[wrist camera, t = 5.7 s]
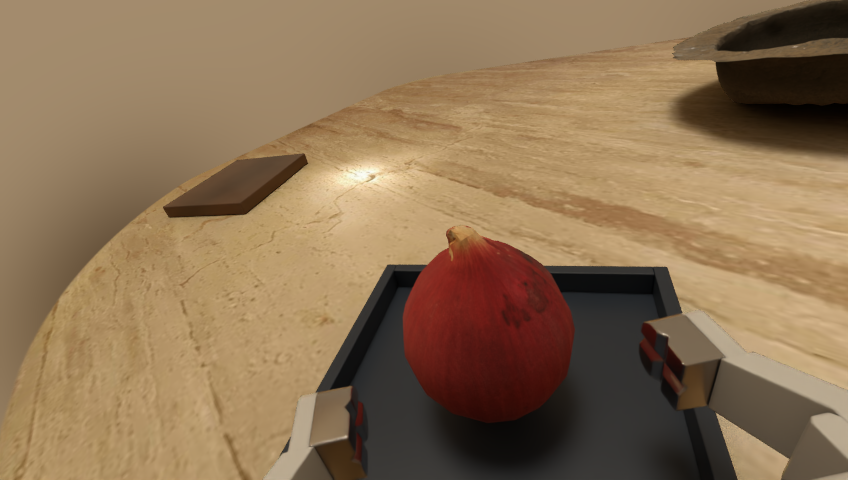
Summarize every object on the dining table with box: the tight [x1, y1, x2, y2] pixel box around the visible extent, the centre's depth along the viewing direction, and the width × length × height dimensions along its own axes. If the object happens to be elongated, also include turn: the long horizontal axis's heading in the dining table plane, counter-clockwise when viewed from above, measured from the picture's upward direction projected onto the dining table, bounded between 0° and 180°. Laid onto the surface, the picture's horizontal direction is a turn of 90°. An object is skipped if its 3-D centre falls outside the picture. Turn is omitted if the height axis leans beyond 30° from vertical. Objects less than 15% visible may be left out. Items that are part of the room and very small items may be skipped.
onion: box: [403, 225, 575, 423], centre depth 14 cm, size 6×6×8 cm
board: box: [163, 154, 308, 217], centre depth 45 cm, size 10×12×1 cm
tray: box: [279, 265, 738, 480], centre depth 16 cm, size 14×14×2 cm
